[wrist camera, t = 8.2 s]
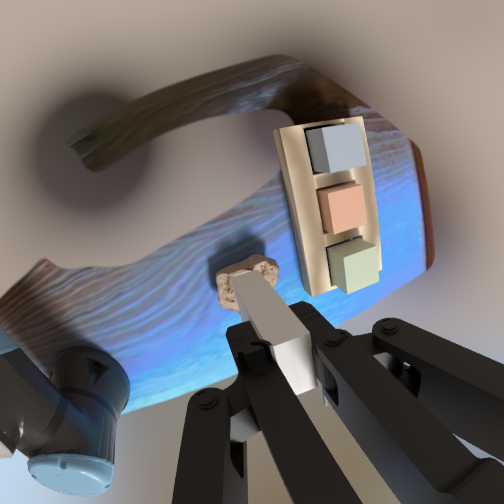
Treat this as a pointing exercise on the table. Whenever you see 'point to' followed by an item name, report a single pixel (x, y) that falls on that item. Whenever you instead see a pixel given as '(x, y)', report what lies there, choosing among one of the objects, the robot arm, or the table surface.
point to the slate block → (336, 148)
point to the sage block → (353, 265)
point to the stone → (252, 263)
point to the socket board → (307, 209)
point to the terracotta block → (341, 207)
